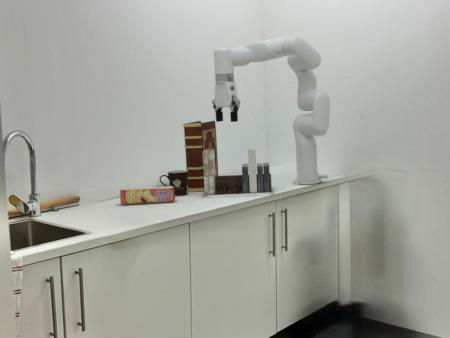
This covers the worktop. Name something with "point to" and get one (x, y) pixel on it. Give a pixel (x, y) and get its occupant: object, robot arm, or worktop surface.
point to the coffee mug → (178, 181)
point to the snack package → (147, 195)
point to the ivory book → (252, 169)
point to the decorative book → (198, 151)
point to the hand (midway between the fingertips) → (226, 121)
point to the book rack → (233, 178)
